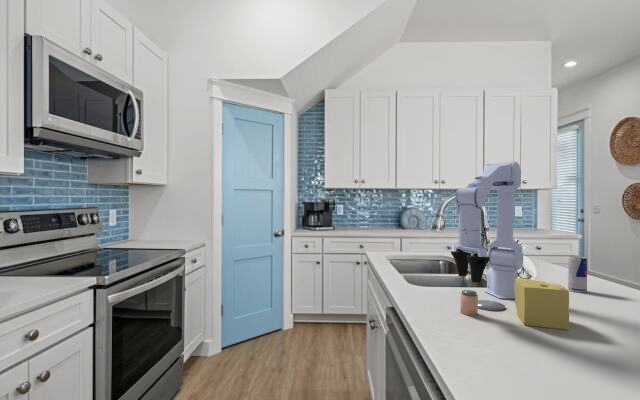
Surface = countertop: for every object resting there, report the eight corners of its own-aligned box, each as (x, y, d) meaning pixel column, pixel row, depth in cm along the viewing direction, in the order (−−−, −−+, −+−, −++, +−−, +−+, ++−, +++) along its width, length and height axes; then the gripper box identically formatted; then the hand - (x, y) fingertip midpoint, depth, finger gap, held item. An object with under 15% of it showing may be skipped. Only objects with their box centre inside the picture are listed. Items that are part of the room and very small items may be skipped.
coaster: (466, 302, 109) (466, 300, 109) (493, 301, 110) (493, 299, 110) (481, 311, 100) (481, 309, 100) (511, 310, 101) (511, 308, 101)
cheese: (557, 317, 95) (557, 280, 95) (571, 331, 85) (571, 290, 85) (514, 313, 99) (514, 277, 99) (522, 326, 88) (522, 286, 88)
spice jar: (457, 310, 100) (457, 289, 100) (472, 310, 101) (472, 289, 101) (465, 315, 96) (465, 293, 96) (480, 315, 96) (480, 293, 96)
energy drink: (590, 293, 121) (590, 258, 121) (572, 292, 122) (572, 257, 122) (581, 289, 126) (582, 256, 126) (565, 288, 127) (565, 255, 127)
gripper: (444, 228, 105) (444, 273, 105) (468, 232, 91) (468, 285, 91) (467, 228, 106) (466, 273, 106) (494, 232, 91) (494, 284, 91)
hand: (469, 278), depth 98 cm, fingers open, 7 cm apart
